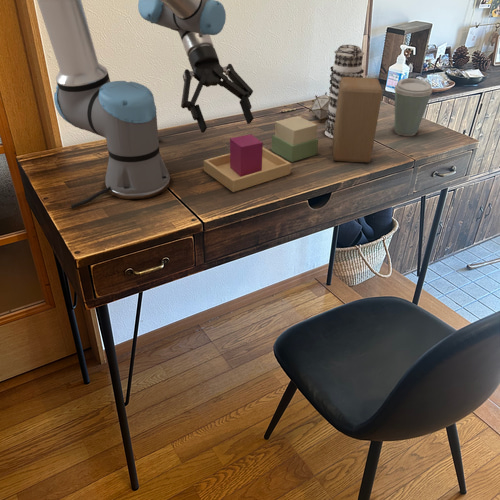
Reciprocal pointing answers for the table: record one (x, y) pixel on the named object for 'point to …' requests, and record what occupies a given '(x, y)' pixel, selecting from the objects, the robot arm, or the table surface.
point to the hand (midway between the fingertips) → (227, 125)
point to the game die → (321, 106)
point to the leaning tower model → (344, 66)
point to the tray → (229, 178)
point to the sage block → (294, 149)
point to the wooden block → (356, 119)
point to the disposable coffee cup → (410, 105)
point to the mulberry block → (246, 155)
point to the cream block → (295, 130)
